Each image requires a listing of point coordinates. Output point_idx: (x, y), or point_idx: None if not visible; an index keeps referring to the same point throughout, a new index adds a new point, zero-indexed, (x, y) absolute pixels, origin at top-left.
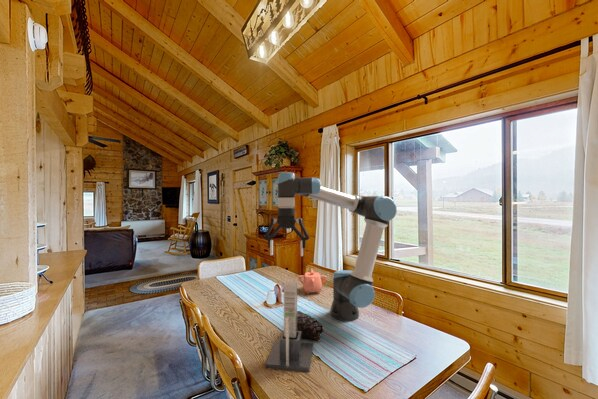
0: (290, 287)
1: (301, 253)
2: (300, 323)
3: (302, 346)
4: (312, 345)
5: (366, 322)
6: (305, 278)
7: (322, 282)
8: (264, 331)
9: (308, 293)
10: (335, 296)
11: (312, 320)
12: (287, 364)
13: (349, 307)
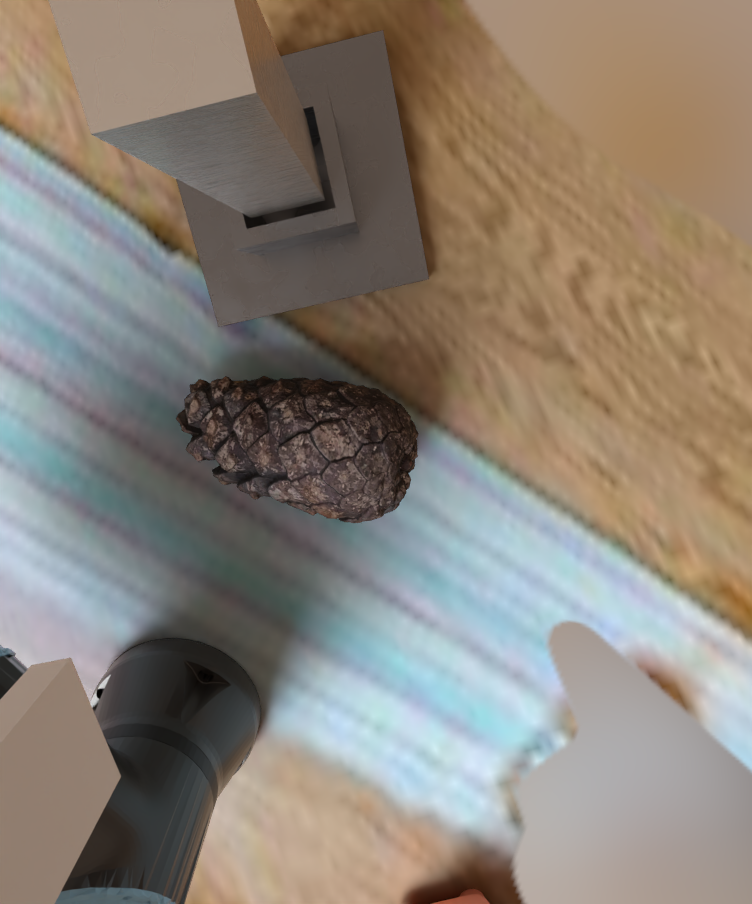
0: None
1: (9, 708)
2: (306, 396)
3: (261, 276)
4: (214, 305)
5: (45, 657)
6: None
7: None
8: (545, 390)
9: (464, 894)
10: (179, 758)
11: (237, 438)
12: None
13: (106, 707)
